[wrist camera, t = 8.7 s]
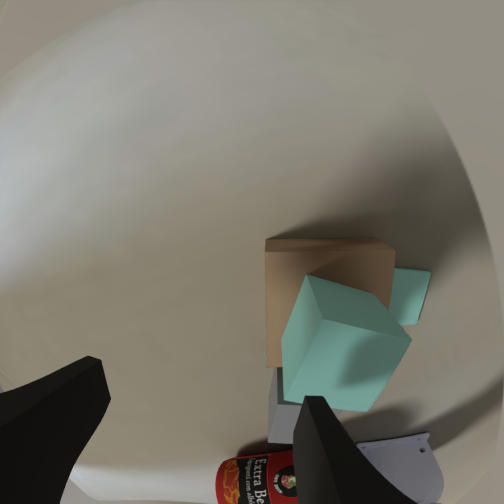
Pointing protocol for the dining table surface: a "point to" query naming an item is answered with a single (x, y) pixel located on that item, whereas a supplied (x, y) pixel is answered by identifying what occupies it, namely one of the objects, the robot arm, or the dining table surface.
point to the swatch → (408, 294)
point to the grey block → (283, 412)
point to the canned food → (257, 479)
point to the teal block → (339, 346)
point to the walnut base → (320, 276)
